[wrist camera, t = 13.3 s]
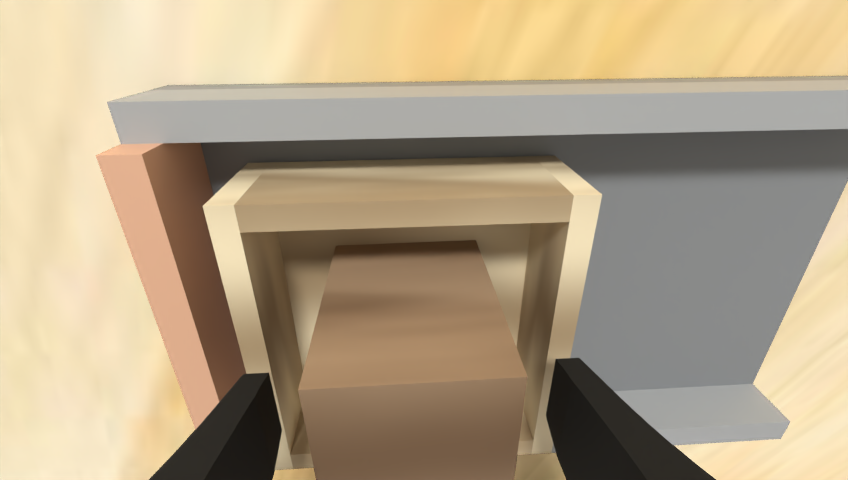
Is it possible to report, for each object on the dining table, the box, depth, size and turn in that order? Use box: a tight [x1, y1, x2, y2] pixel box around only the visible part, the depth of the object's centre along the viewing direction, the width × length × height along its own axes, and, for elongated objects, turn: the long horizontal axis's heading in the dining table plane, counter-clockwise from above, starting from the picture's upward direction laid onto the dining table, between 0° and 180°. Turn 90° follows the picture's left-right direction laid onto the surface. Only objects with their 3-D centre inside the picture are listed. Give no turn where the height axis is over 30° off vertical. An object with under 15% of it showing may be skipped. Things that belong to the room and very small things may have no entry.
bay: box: [96, 76, 848, 453], centre depth 15 cm, size 14×22×4 cm, turn 90°
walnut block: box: [298, 240, 528, 480], centre depth 12 cm, size 4×4×6 cm
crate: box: [203, 156, 602, 470], centre depth 14 cm, size 9×9×3 cm
